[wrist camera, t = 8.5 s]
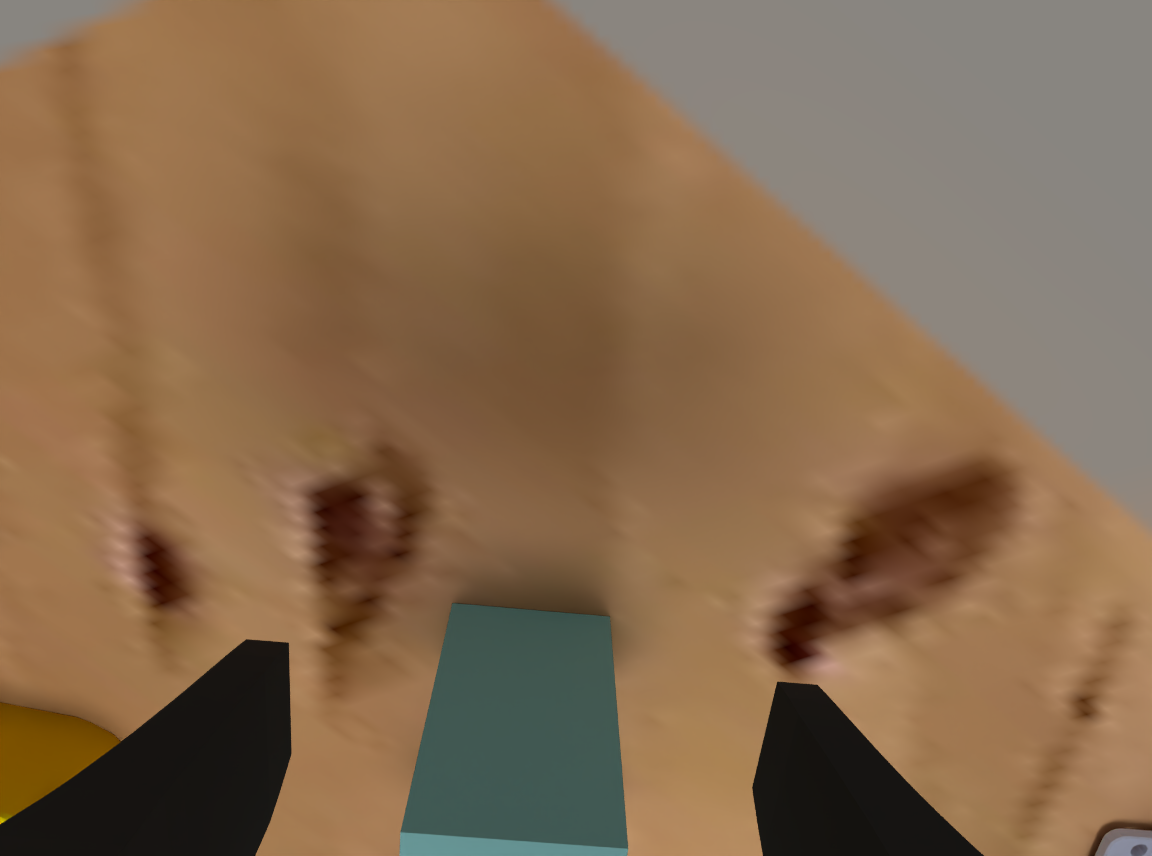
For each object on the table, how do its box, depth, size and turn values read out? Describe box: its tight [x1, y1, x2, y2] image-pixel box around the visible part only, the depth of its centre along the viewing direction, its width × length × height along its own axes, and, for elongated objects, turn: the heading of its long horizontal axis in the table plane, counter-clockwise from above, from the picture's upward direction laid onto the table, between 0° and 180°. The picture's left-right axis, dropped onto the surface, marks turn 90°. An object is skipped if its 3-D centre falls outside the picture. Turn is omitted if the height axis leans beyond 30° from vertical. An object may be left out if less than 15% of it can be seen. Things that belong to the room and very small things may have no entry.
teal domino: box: [400, 603, 628, 856], centre depth 21 cm, size 4×2×8 cm, turn 84°
